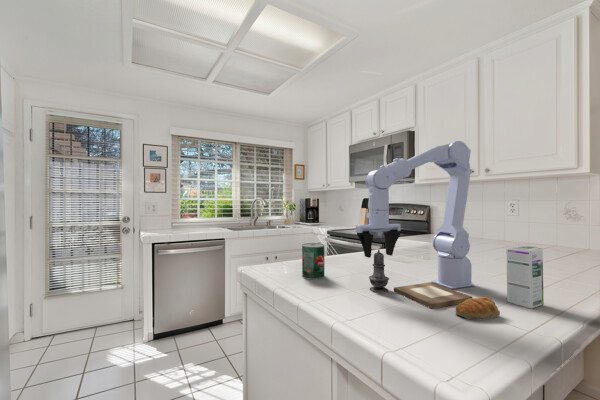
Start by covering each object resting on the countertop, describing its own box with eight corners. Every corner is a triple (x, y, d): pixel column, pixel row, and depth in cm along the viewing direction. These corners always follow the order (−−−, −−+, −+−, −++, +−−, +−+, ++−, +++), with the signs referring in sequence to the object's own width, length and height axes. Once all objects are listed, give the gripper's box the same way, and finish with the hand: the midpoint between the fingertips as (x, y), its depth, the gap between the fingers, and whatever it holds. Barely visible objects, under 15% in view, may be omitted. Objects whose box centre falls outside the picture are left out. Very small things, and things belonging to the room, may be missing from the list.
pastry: (472, 324, 63) (472, 306, 63) (447, 313, 69) (446, 297, 69) (502, 318, 66) (502, 301, 66) (475, 307, 72) (475, 292, 72)
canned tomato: (325, 279, 97) (325, 246, 97) (302, 279, 97) (301, 246, 97) (323, 273, 105) (323, 243, 105) (302, 273, 105) (302, 243, 105)
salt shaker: (390, 293, 82) (390, 251, 82) (369, 292, 83) (368, 251, 83) (388, 287, 88) (388, 248, 88) (368, 286, 89) (368, 247, 89)
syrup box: (532, 309, 70) (532, 250, 70) (505, 301, 75) (505, 246, 75) (544, 305, 73) (544, 248, 73) (517, 298, 78) (517, 244, 78)
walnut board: (430, 286, 89) (430, 281, 89) (472, 301, 76) (472, 296, 76) (393, 291, 84) (393, 287, 84) (431, 308, 71) (431, 303, 71)
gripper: (389, 209, 92) (389, 251, 92) (350, 210, 86) (350, 255, 87) (405, 210, 85) (405, 255, 85) (363, 211, 80) (363, 259, 80)
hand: (378, 255), depth 85 cm, fingers open, 7 cm apart
